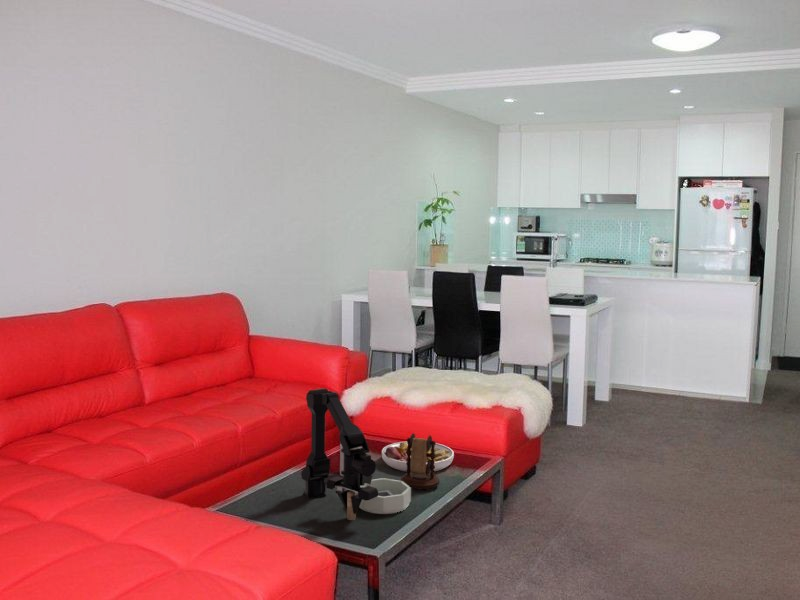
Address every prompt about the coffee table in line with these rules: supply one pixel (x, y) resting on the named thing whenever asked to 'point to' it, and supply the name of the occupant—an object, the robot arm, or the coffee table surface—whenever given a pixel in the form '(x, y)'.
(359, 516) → the coffee table surface
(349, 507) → the beige rounded cylinder
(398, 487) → the octagonal white bin
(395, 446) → the bowl
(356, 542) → the coffee table surface
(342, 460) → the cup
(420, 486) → the scroll
